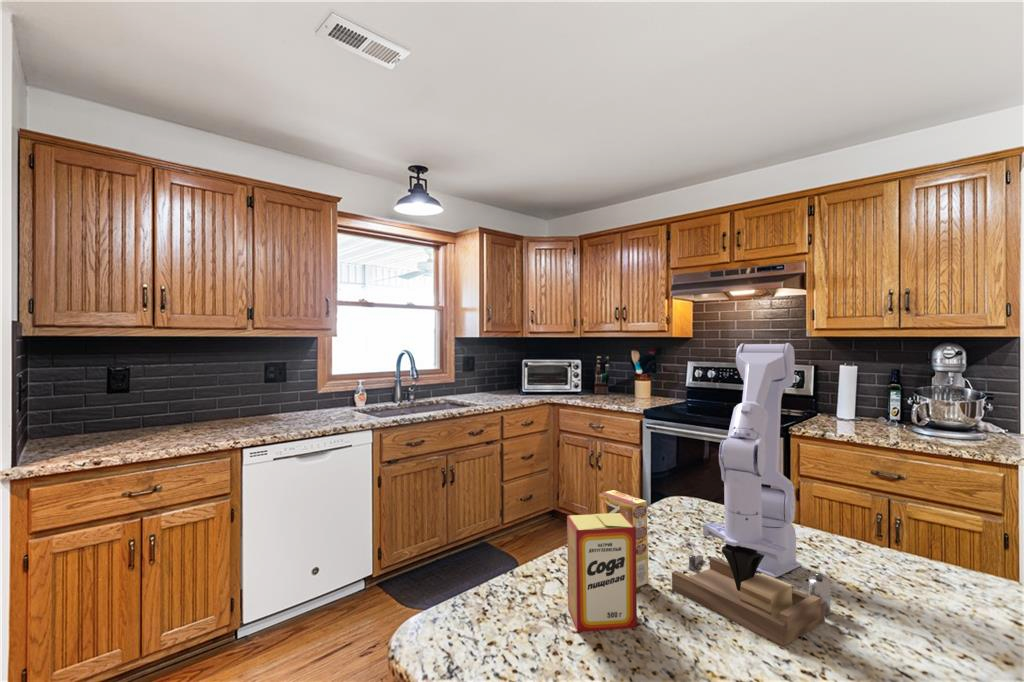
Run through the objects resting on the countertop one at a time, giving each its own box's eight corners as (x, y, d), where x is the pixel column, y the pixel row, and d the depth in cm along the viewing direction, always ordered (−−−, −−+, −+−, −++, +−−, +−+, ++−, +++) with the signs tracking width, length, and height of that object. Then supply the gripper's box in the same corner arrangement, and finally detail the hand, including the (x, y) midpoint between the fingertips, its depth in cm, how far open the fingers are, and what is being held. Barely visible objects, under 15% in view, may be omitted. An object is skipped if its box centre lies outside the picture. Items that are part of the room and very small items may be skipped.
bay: (713, 572, 95) (713, 551, 95) (825, 621, 78) (824, 595, 78) (672, 589, 88) (671, 566, 88) (783, 646, 71) (782, 618, 71)
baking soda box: (577, 632, 75) (576, 527, 75) (568, 609, 82) (567, 513, 82) (636, 627, 76) (635, 524, 76) (623, 605, 83) (622, 510, 83)
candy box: (649, 583, 90) (648, 500, 90) (633, 590, 88) (632, 504, 88) (614, 566, 98) (614, 489, 98) (599, 571, 95) (598, 492, 95)
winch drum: (814, 604, 83) (814, 568, 83) (834, 612, 80) (833, 575, 80) (805, 609, 81) (804, 572, 81) (824, 617, 79) (824, 580, 79)
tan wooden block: (762, 596, 83) (762, 572, 83) (792, 609, 79) (792, 584, 79) (740, 607, 80) (740, 582, 80) (770, 621, 76) (770, 595, 76)
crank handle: (697, 559, 101) (697, 546, 101) (703, 561, 100) (703, 547, 100) (688, 570, 96) (688, 556, 96) (694, 572, 95) (694, 558, 95)
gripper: (691, 502, 87) (692, 579, 87) (771, 527, 75) (772, 617, 75) (716, 495, 91) (717, 569, 91) (796, 518, 78) (797, 603, 78)
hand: (743, 590), depth 83 cm, fingers closed
